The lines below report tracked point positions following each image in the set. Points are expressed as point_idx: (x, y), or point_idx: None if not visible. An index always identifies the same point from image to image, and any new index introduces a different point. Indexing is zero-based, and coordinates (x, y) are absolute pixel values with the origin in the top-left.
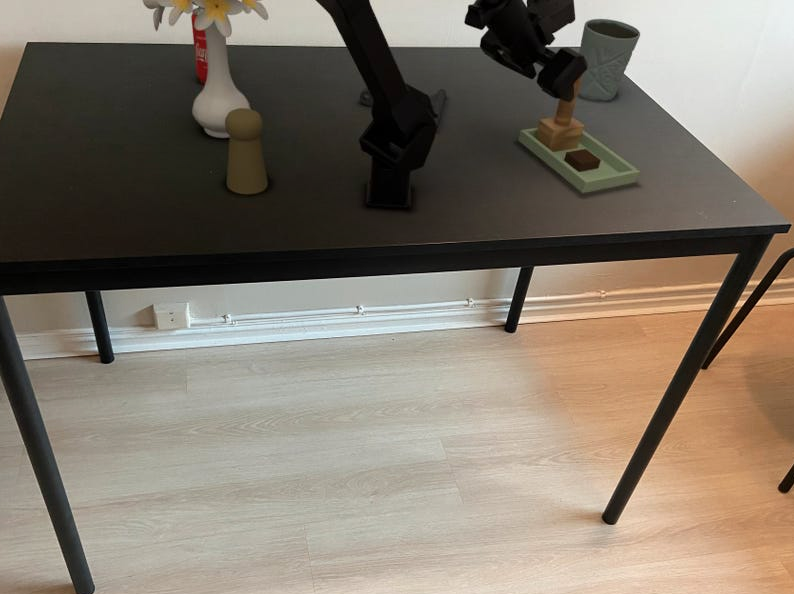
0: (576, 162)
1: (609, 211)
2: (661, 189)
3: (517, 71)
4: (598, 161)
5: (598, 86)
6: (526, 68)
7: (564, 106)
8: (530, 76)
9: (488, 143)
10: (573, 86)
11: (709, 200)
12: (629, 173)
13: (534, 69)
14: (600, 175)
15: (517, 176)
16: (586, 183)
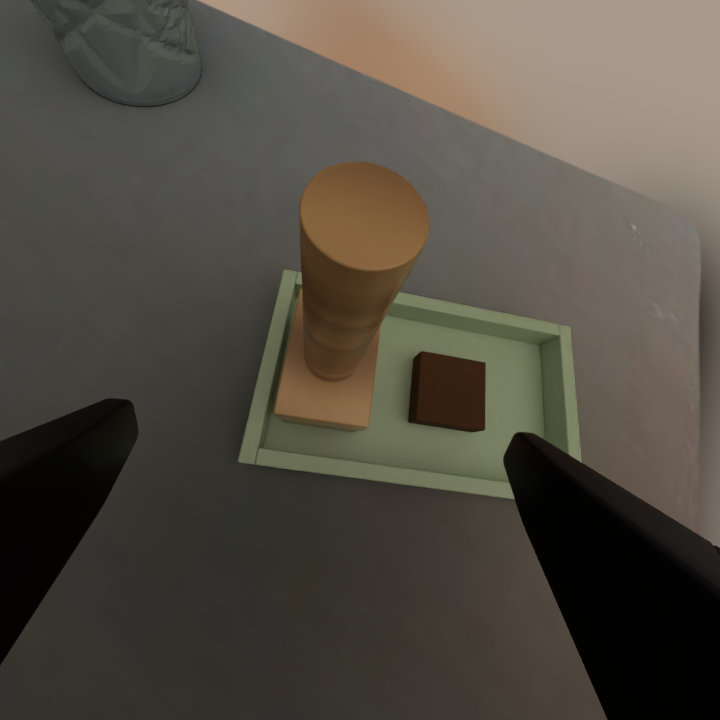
0: (465, 428)
1: (623, 487)
2: (570, 304)
3: (2, 653)
4: (484, 370)
5: (165, 54)
6: (36, 536)
7: (355, 357)
8: (116, 460)
9: (190, 561)
10: (673, 525)
11: (623, 259)
12: (571, 357)
13: (93, 433)
14: (503, 391)
15: (409, 616)
16: None
